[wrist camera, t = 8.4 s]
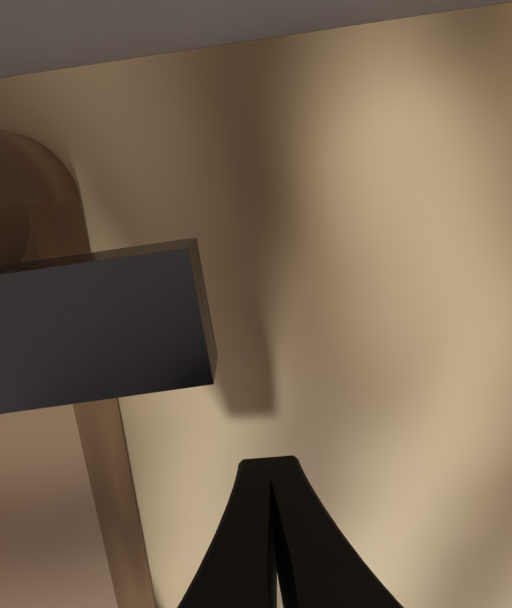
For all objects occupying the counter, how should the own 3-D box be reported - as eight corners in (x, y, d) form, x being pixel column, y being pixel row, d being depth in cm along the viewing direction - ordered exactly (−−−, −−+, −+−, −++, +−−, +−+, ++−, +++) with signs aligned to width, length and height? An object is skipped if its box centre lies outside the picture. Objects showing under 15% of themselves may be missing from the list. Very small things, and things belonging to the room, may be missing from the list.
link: (186, 697, 14) (170, 846, 11) (72, 706, 14) (23, 859, 11) (89, 125, 9) (1, 93, 6) (-97, 137, 9) (-292, 113, 6)
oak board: (49, 702, 16) (37, 736, 15) (-205, 122, 10) (-255, 116, 9) (586, 631, 16) (609, 661, 15) (681, -9, 9) (730, -31, 8)
